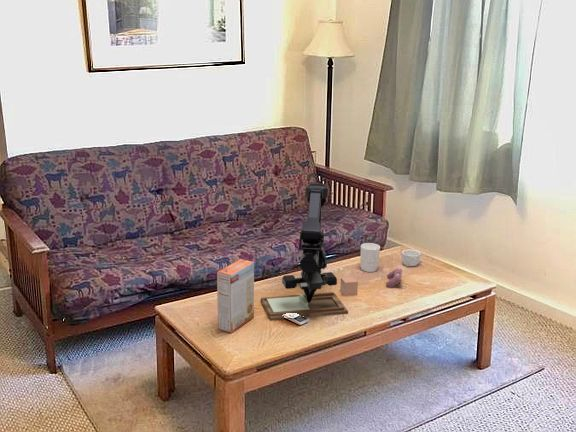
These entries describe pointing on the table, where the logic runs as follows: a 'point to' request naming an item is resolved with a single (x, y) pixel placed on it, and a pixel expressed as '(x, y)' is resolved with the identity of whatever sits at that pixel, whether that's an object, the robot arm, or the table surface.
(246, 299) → the cracker box
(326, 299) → the board
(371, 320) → the table surface
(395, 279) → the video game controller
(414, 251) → the teacup
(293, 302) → the lid
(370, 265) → the white cup
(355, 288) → the block
